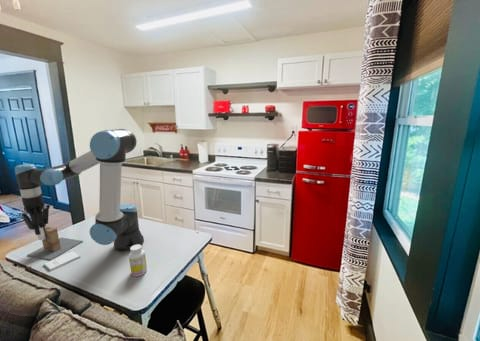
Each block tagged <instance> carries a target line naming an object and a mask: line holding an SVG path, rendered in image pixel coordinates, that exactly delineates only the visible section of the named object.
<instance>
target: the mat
mask: <svg viewBox="0 0 480 341" xmlns="http://www.w3.org/2000/svg"><path fill="white" fill-rule="evenodd" d="M59 241H60V246H61V249H60V250H58V251H56V252H50V251H44V247H43V246H42V247H40V248H38V249H35V250H34V251H32V252H30V253H28V254H26V256H27V257H31V258H36V259H37V258H38V259H40V260H41V259H42V260H46V261H51V260H53V259H56V258H58V257H60V256H62V255H64V254H66V252H68V251H70V250H72V249H73V248H75V247H77V246H78V245H80V244H82V243H84V240H79V239H73V238H67V237H59Z"/></svg>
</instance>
